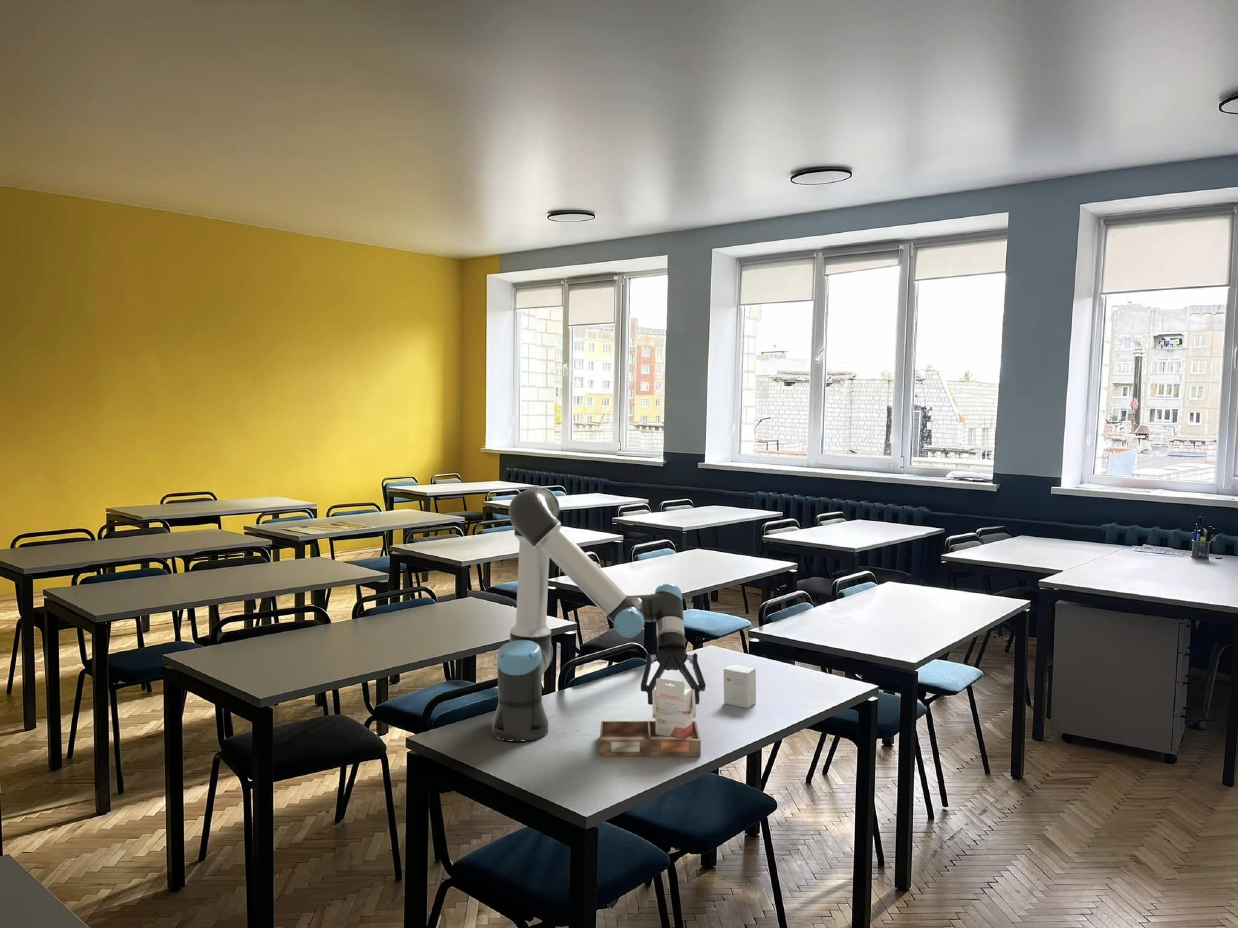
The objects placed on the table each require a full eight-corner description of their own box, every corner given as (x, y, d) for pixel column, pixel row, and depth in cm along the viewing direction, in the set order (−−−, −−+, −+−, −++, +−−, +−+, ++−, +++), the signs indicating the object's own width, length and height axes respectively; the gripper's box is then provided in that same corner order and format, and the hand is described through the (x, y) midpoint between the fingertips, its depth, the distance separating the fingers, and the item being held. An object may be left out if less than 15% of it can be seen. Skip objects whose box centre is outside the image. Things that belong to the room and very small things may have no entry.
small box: (756, 703, 247) (756, 668, 246) (748, 708, 242) (748, 672, 242) (731, 698, 251) (731, 663, 251) (723, 703, 247) (723, 668, 246)
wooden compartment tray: (599, 756, 208) (599, 741, 208) (601, 735, 222) (601, 720, 222) (700, 756, 208) (700, 740, 208) (696, 735, 222) (695, 720, 222)
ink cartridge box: (693, 733, 216) (693, 677, 215) (685, 740, 211) (685, 682, 210) (662, 727, 220) (662, 672, 219) (654, 734, 215) (654, 677, 214)
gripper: (710, 644, 230) (716, 721, 215) (629, 644, 230) (630, 722, 215) (712, 629, 224) (719, 708, 209) (629, 630, 224) (630, 709, 209)
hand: (674, 715), depth 212 cm, fingers closed on ink cartridge box, 9 cm apart
